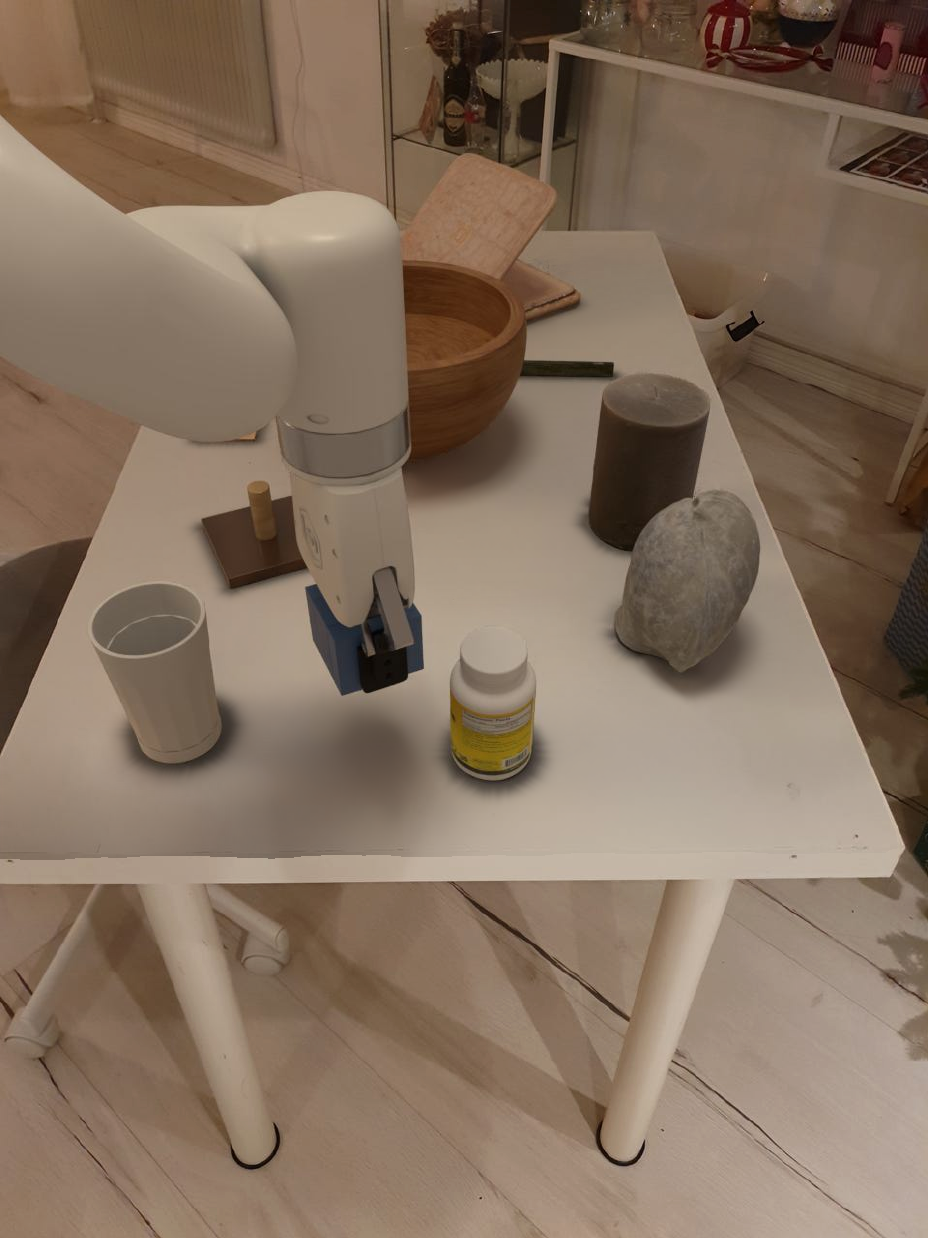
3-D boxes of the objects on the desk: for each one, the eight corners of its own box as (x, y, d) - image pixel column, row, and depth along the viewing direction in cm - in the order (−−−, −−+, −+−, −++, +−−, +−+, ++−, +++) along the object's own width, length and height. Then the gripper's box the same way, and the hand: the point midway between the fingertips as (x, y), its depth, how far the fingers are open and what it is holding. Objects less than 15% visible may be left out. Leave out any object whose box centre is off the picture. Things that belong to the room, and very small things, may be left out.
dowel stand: (230, 589, 89) (218, 530, 84) (203, 528, 95) (190, 471, 91) (334, 559, 92) (328, 502, 87) (301, 502, 98) (293, 446, 94)
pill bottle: (466, 712, 78) (466, 609, 70) (541, 732, 76) (549, 629, 69) (438, 771, 73) (436, 667, 66) (517, 793, 72) (524, 690, 64)
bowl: (242, 453, 105) (219, 320, 95) (393, 363, 120) (387, 240, 110) (424, 540, 94) (419, 401, 84) (565, 429, 109) (576, 300, 98)
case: (375, 291, 135) (367, 169, 124) (495, 255, 144) (498, 138, 133) (463, 348, 123) (463, 218, 112) (588, 304, 132) (599, 180, 121)
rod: (612, 374, 118) (613, 359, 116) (612, 378, 117) (614, 363, 116) (353, 370, 118) (351, 355, 117) (352, 374, 118) (350, 359, 116)
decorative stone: (600, 578, 90) (618, 437, 80) (711, 574, 90) (743, 433, 80) (631, 699, 79) (657, 553, 69) (757, 693, 79) (801, 548, 69)
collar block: (341, 696, 65) (334, 643, 62) (312, 640, 69) (304, 586, 66) (424, 669, 67) (422, 615, 64) (391, 615, 71) (387, 562, 68)
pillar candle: (610, 560, 92) (628, 420, 82) (574, 501, 99) (587, 365, 89) (705, 543, 94) (734, 404, 84) (663, 486, 101) (685, 352, 90)
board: (271, 385, 116) (269, 374, 115) (254, 440, 107) (252, 428, 106) (218, 385, 116) (216, 373, 115) (197, 440, 107) (194, 428, 106)
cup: (216, 682, 80) (189, 568, 72) (245, 749, 75) (218, 636, 67) (118, 714, 77) (77, 600, 69) (140, 786, 72) (99, 672, 64)
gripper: (239, 374, 60) (277, 594, 73) (332, 528, 49) (360, 758, 61) (353, 349, 63) (372, 566, 75) (468, 491, 51) (468, 720, 63)
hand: (366, 650), depth 68 cm, fingers closed on collar block, 6 cm apart
